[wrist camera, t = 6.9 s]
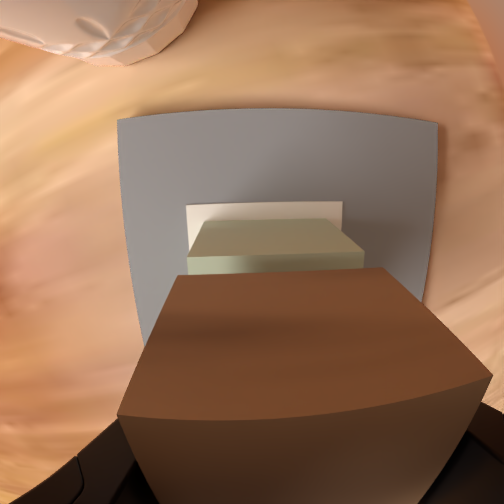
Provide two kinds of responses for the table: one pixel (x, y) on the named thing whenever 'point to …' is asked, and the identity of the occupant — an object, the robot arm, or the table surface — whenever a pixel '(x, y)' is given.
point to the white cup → (96, 27)
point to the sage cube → (272, 247)
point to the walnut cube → (298, 391)
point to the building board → (274, 186)
